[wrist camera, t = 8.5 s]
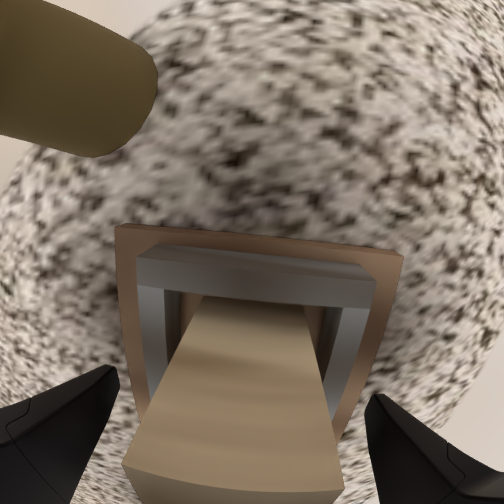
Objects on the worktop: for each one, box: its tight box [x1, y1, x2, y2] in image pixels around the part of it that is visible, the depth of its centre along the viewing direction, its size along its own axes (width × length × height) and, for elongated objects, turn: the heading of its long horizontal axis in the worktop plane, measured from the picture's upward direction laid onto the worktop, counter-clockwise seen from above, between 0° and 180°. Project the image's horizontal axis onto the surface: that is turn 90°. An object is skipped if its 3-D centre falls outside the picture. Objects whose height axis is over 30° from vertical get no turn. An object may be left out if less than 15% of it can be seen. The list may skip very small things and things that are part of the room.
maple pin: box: [121, 296, 345, 504], centre depth 8 cm, size 4×4×8 cm
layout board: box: [115, 223, 404, 445], centre depth 10 cm, size 18×12×7 cm, turn 175°
